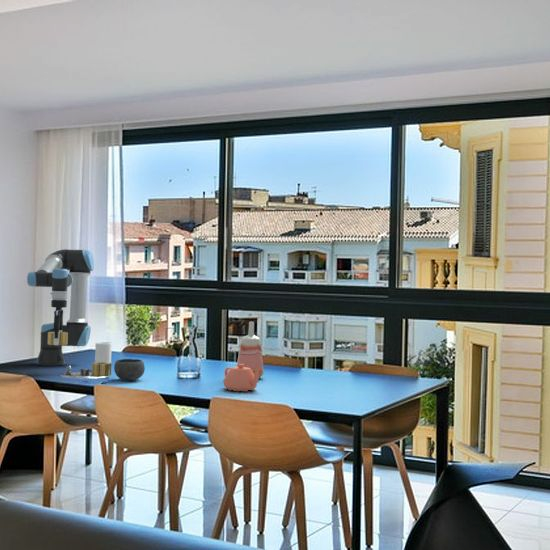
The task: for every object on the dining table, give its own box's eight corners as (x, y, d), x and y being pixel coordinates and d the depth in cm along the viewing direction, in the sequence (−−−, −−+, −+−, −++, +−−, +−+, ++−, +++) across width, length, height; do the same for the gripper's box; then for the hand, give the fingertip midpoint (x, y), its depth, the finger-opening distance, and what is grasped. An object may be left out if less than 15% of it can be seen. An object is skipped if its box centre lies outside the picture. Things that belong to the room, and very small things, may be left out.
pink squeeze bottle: (246, 375, 423) (248, 320, 422) (268, 378, 414) (270, 322, 414) (230, 378, 411) (232, 321, 410) (252, 381, 402) (254, 323, 402)
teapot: (270, 391, 373) (271, 365, 373) (251, 395, 360) (252, 368, 360) (232, 385, 385) (233, 360, 385) (213, 389, 372) (214, 363, 372)
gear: (49, 343, 400) (49, 331, 400) (68, 343, 401) (68, 332, 401) (46, 345, 390) (46, 332, 390) (66, 345, 391) (66, 333, 391)
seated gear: (90, 374, 398) (90, 362, 397) (109, 373, 401) (109, 361, 401) (92, 376, 389) (93, 364, 388) (112, 376, 392) (112, 364, 392)
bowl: (144, 382, 385) (145, 362, 385) (113, 382, 383) (113, 362, 383) (144, 378, 400) (144, 358, 400) (114, 377, 397) (115, 358, 397)
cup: (106, 374, 407) (107, 344, 407) (92, 373, 408) (93, 343, 408) (113, 372, 415) (114, 342, 415) (98, 371, 416) (99, 341, 416)
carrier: (62, 374, 403) (62, 362, 403) (110, 374, 407) (110, 363, 407) (57, 381, 380) (57, 369, 380) (108, 381, 384) (108, 369, 384)
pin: (66, 374, 393) (66, 365, 393) (70, 374, 393) (71, 365, 393) (65, 375, 391) (66, 366, 391) (70, 375, 391) (70, 366, 391)
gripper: (54, 298, 406) (53, 341, 406) (48, 300, 384) (46, 345, 384) (69, 299, 407) (68, 342, 407) (64, 300, 385) (62, 346, 385)
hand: (57, 343), depth 395 cm, fingers closed on gear, 10 cm apart
